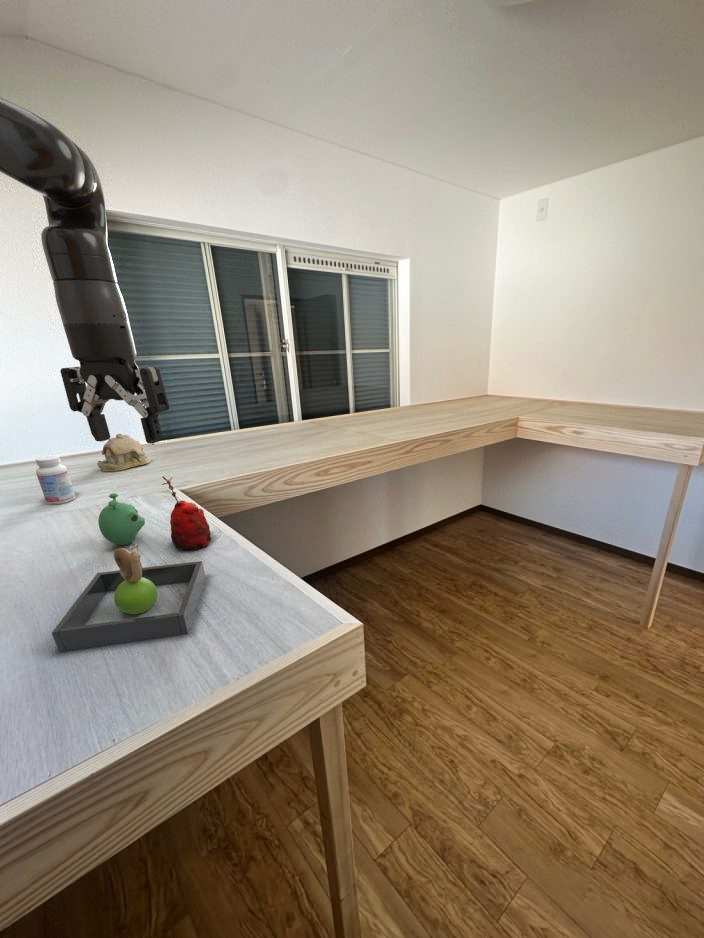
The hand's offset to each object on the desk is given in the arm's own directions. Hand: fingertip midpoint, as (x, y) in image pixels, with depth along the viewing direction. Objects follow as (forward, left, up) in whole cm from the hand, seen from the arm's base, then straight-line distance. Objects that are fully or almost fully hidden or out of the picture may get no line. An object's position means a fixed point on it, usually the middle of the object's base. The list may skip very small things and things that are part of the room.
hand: (128, 441), depth 62 cm
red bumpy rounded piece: (+2, +12, -24) cm, 27 cm away
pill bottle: (-35, +45, -24) cm, 62 cm away
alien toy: (-11, +16, -24) cm, 31 cm away
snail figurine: (-1, -10, -24) cm, 26 cm away
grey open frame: (-1, -10, -24) cm, 26 cm away
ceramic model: (-29, +74, -24) cm, 83 cm away
